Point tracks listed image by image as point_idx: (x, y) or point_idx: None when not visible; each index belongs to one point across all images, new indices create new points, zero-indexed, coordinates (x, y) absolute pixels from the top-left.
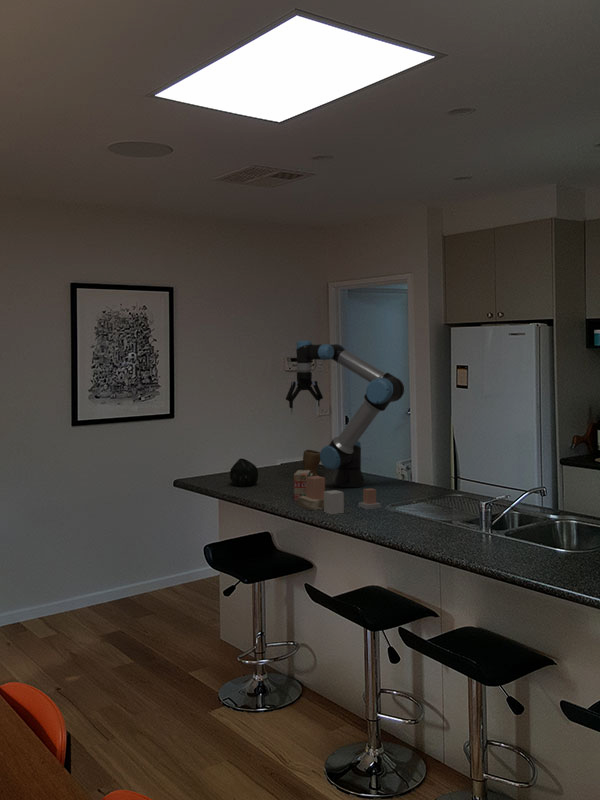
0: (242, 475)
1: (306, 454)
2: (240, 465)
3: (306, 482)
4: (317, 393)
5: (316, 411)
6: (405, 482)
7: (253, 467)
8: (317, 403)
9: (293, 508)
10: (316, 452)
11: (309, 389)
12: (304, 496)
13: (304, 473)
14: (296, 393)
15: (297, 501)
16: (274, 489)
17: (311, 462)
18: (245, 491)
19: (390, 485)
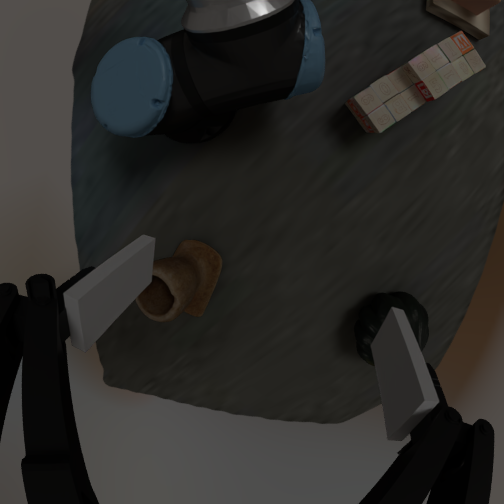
0: (424, 310)
1: (184, 296)
2: (424, 336)
3: (494, 4)
4: (5, 370)
5: (146, 253)
6: (83, 56)
7: None
8: (94, 278)
9: (495, 36)
10: (139, 295)
11: (86, 497)
12: (475, 22)
13: (457, 46)
14: (412, 498)
15: (483, 36)
16: (387, 217)
17: (187, 267)
18: (444, 255)
19: None
